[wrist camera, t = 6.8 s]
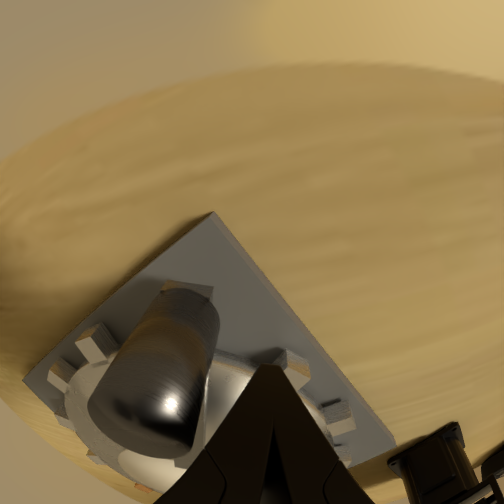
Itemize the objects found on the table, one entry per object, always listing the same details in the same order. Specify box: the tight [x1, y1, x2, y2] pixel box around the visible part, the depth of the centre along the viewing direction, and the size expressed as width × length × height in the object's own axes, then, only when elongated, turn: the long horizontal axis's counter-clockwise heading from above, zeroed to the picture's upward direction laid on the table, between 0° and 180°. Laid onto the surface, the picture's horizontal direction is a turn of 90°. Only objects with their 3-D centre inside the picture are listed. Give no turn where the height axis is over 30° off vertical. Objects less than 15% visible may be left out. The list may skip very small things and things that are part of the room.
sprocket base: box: [22, 211, 397, 469], centre depth 15 cm, size 19×19×2 cm
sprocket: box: [47, 279, 357, 494], centre depth 11 cm, size 18×20×6 cm
